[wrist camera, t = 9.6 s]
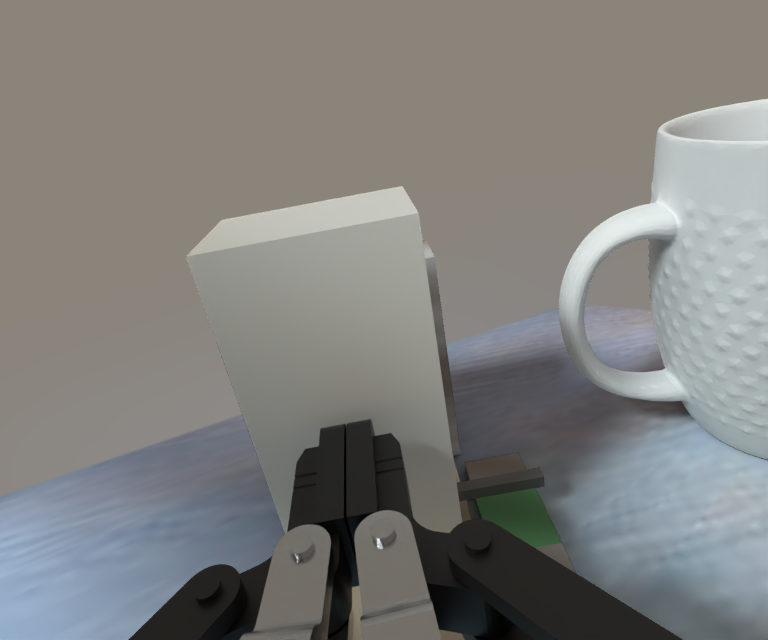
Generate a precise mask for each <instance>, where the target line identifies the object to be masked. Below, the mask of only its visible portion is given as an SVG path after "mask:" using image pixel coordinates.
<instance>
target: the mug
mask: <svg viewBox="0 0 768 640" xmlns="http://www.w3.org/2000/svg"><path fill="white" fill-rule="evenodd" d="M651 186H652V199H651V202H650V204H645V205H642V206H638V207H634V208H631V209H629V210H626V211H623V212H621V213H618V214H616V215H614V216H612V217H610V218H609V219H608V220H606V221H604V222H603V223H601V224H600V225H599V226H597V227H596V228H595V229H594V230H592V231H591V232H590V233H589V234H588V235H587V236H586V238H585V239H584V240H583V241H582V243H581V244H580V245H579V247H578V248H577V250H576V251H575V253H574V255H573V256H572V258H571V260H570V262H569V264H568V267H567V269H566V272H565V275H564V278H563V281H562V285H561V290H560V298H559V319H560V326H561V332H562V336H563V340H564V343H565V345H566V348H567V351H568V353H569V355H570V357H571V359H572V360H573V362H574V364H575V365H576V367H577V368H578V369H579V370H580V372H581V373H582V374H583V375H584V376H585V377H586V378H587V379H588V380H589V381H591V382H592V383H594V384H595V385H597V386H598V387H600V388H601V389H603V390H605V391H608V392H610V393H613V394H616V395H619V396H623V397H628V398H633V399H640V400H649V401H682V403H683V404H684V406H685V408H686V409H687V411H688V412H689V413H690V415H691V416H692V417H693V418H694V419H695V420H696V422H697V423H698V424H700V425H701V426H702V427H703V428H704V429H705V430H706V431H708V432H709V433H710V434H711V435H713V436H714V437H716V438H717V439H719V440H720V441H722V442H724V443H726V444H728V445H730V446H732V447H734V448H736V449H738V450H740V451H743V452H746V453H748V454H751V455H754V456H757V457H760V458H763V459H767V460H768V99H764V100H756V101H750V102H744V103H738V104H732V105H727V106H721V107H716V108H711V109H707V110H703V111H698V112H695V113H691V114H687V115H684V116H681V117H678V118H675V119H673V120H671V121H668V122H666V123H665V124H663V125H662V126H661V127H660V128H659V129H658V133H657V139H656V150H655V162H654V175H653V181H652V184H651ZM641 239H648V240H649V246H648V250H649V265H648V269H649V279H650V284H649V286H650V295H649V296H650V299H651V305H652V315H653V325H654V328H655V331H656V341H657V343H658V345H659V350H660V353H661V357H662V360H663V365H664V366H665V369H663V370H658V371H651V372H628V371H622V370H617V369H615V368H612V367H610V366H607V365H606V364H604V363H603V362H602V361H601V360H600V359H599V358H598V357H597V356H596V355H595V354H594V352H593V350H592V349H591V346H590V344H589V342H588V340H587V337H586V332H585V326H584V308H585V301H586V296H587V292H588V289H589V285H590V283H591V280H592V278H593V276H594V273H595V272H596V270H597V268H598V267H599V266H600V264H601V263H602V262H603V261H604V259H605V258H606V257H607V256H608V255H609V254H610V253H612V252H613V251H615V250H616V249H617V248H619V247H621V246H623V245H625V244H628V243H630V242H633V241H637V240H641Z"/></svg>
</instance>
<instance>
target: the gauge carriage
mask: <svg viewBox="0 0 768 640" xmlns="http://www.w3.org/2000/svg"><path fill="white" fill-rule="evenodd" d="M186 258H187V261H188V264H189V267H190V269H191V272H192V275H193V278H194V280H195V283H196V286H197V289H198V292H199V294H200V297H201V300H202V303H203V306H204V309H205V311H206V314H207V316H208V320H209V322H210V325H211V328H212V331H213V334H214V336H215V339H216V342H217V345H218V348H219V350H220V353H221V356H222V358H223V362H224V365H225V367H226V370H227V373H228V376H229V379H230V381H231V384H232V387H233V390H234V392H235V395H236V398H237V401H238V404H239V406H240V409H241V412H242V415H243V418H244V420H245V423H246V426H247V429H248V432H249V434H250V437H251V440H252V443H253V446H254V448H255V451H256V454H257V457H258V460H259V462H260V465H261V468H262V471H263V474H264V476H265V479H266V482H267V485H268V488H269V490H270V493H271V496H272V499H273V502H274V504H275V507H276V510H277V513H278V516H279V518H280V521H281V524H282V527H283V530H284V532H285V534H286V533H287V530H288V523H289V515H290V508H291V500H292V493H293V485H294V479H295V470H296V463H297V461H298V459H299V458H300V456H301V455H302V453H303V452H304V450H305V449H307V448H313V447H318V446H319V437H320V429H321V428H325V427H330V426H336V425H341V424H346V425H347V423H351V422H357V421H362V420H368V419H371V420H372V424H373V429H374V433H375V436H377V435H383V434H388V433H392V435H393V436H394V437H395V438H396V439H397V440H398V442H399V443H400V446H401V451H402V456H403V461H404V466H405V471H406V476H407V481H408V487H409V494H410V500H411V506H412V512H413V518H414V519H415V520H416V522H418V523H419V524H420V525H421V526H423V527H424V528H427V529H429V530H432V531H437V532H445V533H450V532H451V531H452V529H453V528H454V527H456V526H457V525H458V524H460V523H462V517H461V510H460V503H459V502H461V501H466V500H472V499H477V498H483V497H488V496H494V495H499V494H505V493H510V492H516V491H521V490H527V489H532V488H538V487H543V486H544V476H543V474H542V472H541V470H540V468H533V469H528V470H522V471H517V472H511V473H506V474H500V475H495V476H489V477H484V478H478V479H473V480H468V481H462V482H456V475H455V468H454V461H453V453H452V446H451V439H450V432H449V425H448V418H447V411H446V404H445V397H444V390H443V383H442V376H441V368H440V361H439V354H438V347H437V340H436V333H435V326H434V319H433V312H432V305H431V298H430V291H429V283H428V276H427V269H426V262H425V255H424V248H423V241H422V234H421V228H420V220H419V214H418V211H417V210H416V208H415V206H414V205H413V203H412V201H411V200H410V198H409V197H408V195H407V193H406V192H405V190H404V188H403V187H402V186H401V187H395V188H390V189H384V190H379V191H374V192H369V193H363V194H358V195H352V196H347V197H342V198H336V199H331V200H326V201H321V202H315V203H310V204H304V205H299V206H294V207H288V208H283V209H278V210H272V211H267V212H262V213H256V214H251V215H246V216H240V217H235V218H230V219H224V220H221V221H220V222H219V223H218V224H217V226H215V227H214V229H212V231H211V232H210V233H209V234H208V235H207V236H206V237H205V238H204V239H203V240H202V241H201V242H200V243H199V244H198V245H197V246H196V247H195V248H194V249H193V250H192V251H191V252H190V253H189V254H188V255H187V256H186Z"/></svg>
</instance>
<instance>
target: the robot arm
mask: <svg viewBox="0 0 768 640" xmlns="http://www.w3.org/2000/svg"><path fill="white" fill-rule="evenodd" d="M356 586H360V595H361V604H362V617H360V627H361V637H362V640H442V639H441V635H440V631H439V630H444V631H450V632H455V633H461V634H462V636H463V638H464V639H465V640H682V639H681V638H679V637H678V636H676V635H674V634H673V633H671V632H670V631H668V630H666V629H665V628H663V627H662V626H660V625H658V624H657V623H655V622H653V621H652V620H650V619H649V618H647V617H645V616H644V615H642V614H641V613H639V612H637V611H636V610H634V609H632V608H631V607H629V606H628V605H626V604H624V603H623V602H621V601H620V600H618V599H616V598H615V597H613V596H612V595H610V594H608V593H607V592H605V591H603V590H602V589H600V588H599V587H597V586H595V585H594V584H592V583H591V582H589V581H587V580H586V579H584V578H582V577H581V576H579V575H578V574H576V573H574V572H573V571H571V570H570V569H568V568H566V567H565V566H563V565H562V564H560V563H558V562H557V561H555V560H553V559H552V558H550V557H549V556H547V555H545V554H544V553H542V552H541V551H539V550H537V549H536V548H534V547H533V546H531V545H529V544H528V543H526V542H524V541H523V540H521V539H520V538H518V537H516V536H515V535H513V534H512V533H510V532H508V531H507V530H505V529H503V528H502V527H500V526H499V525H497V524H495V523H493V522H491V521H488V520H483V519H471V520H467V521H464V522H462V523H460V524H458V525H457V526H456V527H454V528H453V529H452V531H451V532H450V533H445V532H437V531H432V530H429V529H427V528H424V527H423V526H421V525H420V524H419V523H418V522H416V520H415V519H414V518H413V512H412V506H411V500H410V494H409V487H408V481H407V476H406V471H405V466H404V461H403V456H402V451H401V446H400V443H399V442H398V440H397V439H396V438H395V437H394V436H393V435H392V433H388V434H383V435H377V436H375V433H374V429H373V424H372V420H371V419H368V420H362V421H357V422H351V423H347V425H346V424H341V425H336V426H330V427H325V428H321V429H320V437H319V446H318V447H313V448H307V449H305V450H304V452H303V453H302V455H301V456H300V458H299V459H298V461H297V463H296V470H295V479H294V485H293V493H292V500H291V508H290V515H289V523H288V530H287V533H286V534H285V535H283V537H282V538H281V539H280V540H279V541H278V543H277V544H276V546H275V548H274V551H273V555H272V557H271V558H270V559H268V560H267V561H265V562H264V563H262V564H260V565H258V566H256V567H254V568H252V569H249V570H247V571H245V572H243V573H241V574H239V573H238V572H237V570H236V569H235V568H233V567H232V566H229V565H223V564H220V565H214V566H211V567H208V568H206V569H204V570H202V571H200V572H199V573H197V574H196V575H195V576H193V577H192V578H191V579H190V580H189V581H188V582H187V583H186V584H185V585H184V586H183V587H182V588H181V589H180V590H179V591H178V592H177V593H176V594H175V595H174V596H173V597H172V598H171V599H170V600H169V601H168V602H167V603H166V604H165V605H164V606H163V607H161V608H160V609H159V610H158V611H157V612H156V613H155V614H154V615H153V616H152V617H151V618H150V619H149V620H148V621H147V622H146V623H145V624H144V625H143V626H142V627H141V628H140V629H139V630H138V631H137V632H136V633H135V634H134V635H133V636H132V637H131V638H130V639H129V640H353V626H354V615H353V610H352V587H356Z"/></svg>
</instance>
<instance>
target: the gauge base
mask: <svg viewBox="0 0 768 640" xmlns="http://www.w3.org/2000/svg"><path fill="white" fill-rule="evenodd" d="M422 241H423V248H424V255H425V262H426V269H427V276H428V283H429V291H430V298H431V305H432V312H433V319H434V326H435V333H436V340H437V347H438V354H439V361H440V368H441V376H442V383H443V390H444V397H445V404H446V411H447V418H448V425H449V432H450V439H451V446H452V453H453V456H455V455H461V453H460V445H459V438H458V430H457V423H456V415H455V407H454V400H453V392H452V385H451V377H450V370H449V362H448V355H447V347H446V340H445V332H444V325H443V317H442V309H441V302H440V294H439V286H438V279H437V271H436V264H435V257H434V255H433V253H432V251H431V249H430V248H429V246H428V244H427V242H426V240H422ZM453 461H454V458H453ZM464 463H465V470H466V473H467V476H468V479H469V480H473V479H478V478H484V477H489V476H495V475H500V474H506V473H511V472H517V471H522V470H527V469H526V467H525V465H524V463H523V461H522V459H521V457H520V455H519V453H512V454H507V455H501V456H496V457H490V458H485V459H479V460H474V461H468V462H464ZM454 468H455V475H456V482H460V479H459V475H458V472H457V469H456V465H455V462H454ZM475 501H476V504H477V507H478V510H479V514H480V517H481V519H483V520H488V521H491V522H493V523H495V524H497V525H499V526H500V527H502V528H503V529H505V530H507V531H508V532H510V533H512V534H513V535H515V536H516V537H518V538H520V539H521V540H523V541H524V542H526V543H528V544H529V545H531V546H533V547H534V548H536V549H537V550H539V551H541V552H542V553H544V554H545V555H547V556H549V557H550V558H552V559H553V560H555V561H557V562H558V563H560V564H562V565H563V566H565V567H566V568H568V569H570V570H571V571H573V572H574V573H576V571H575V569H574V567H573V565H572V563H571V561H570V559H569V557H568V555H567V552H566V550H565V548H564V546H563V544H562V542H561V540H560V538H559V536H558V534H557V532H556V530H555V527H554V525H553V523H552V521H551V519H550V517H549V515H548V513H547V511H546V509H545V507H544V505H543V502H542V500H541V498H540V496H539V494H538V492H537V490H536V488H532V489H527V490H521V491H516V492H510V493H505V494H499V495H494V496H488V497H483V498H477V499H475ZM459 503H460V510H461V517H462V522H464V521H467V520H471V516H470V513H469V509H468V506H467V502H466V501H461V502H459ZM576 574H577V573H576ZM352 610H353V615H354V626H353V640H362V637H361V627H360V617H362V604H361V595H360V586H356V587H352ZM439 631H440V635H441V639H442V640H465V639H464V638H463V636H462V634H461V633H455V632H450V631H444V630H439Z"/></svg>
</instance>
